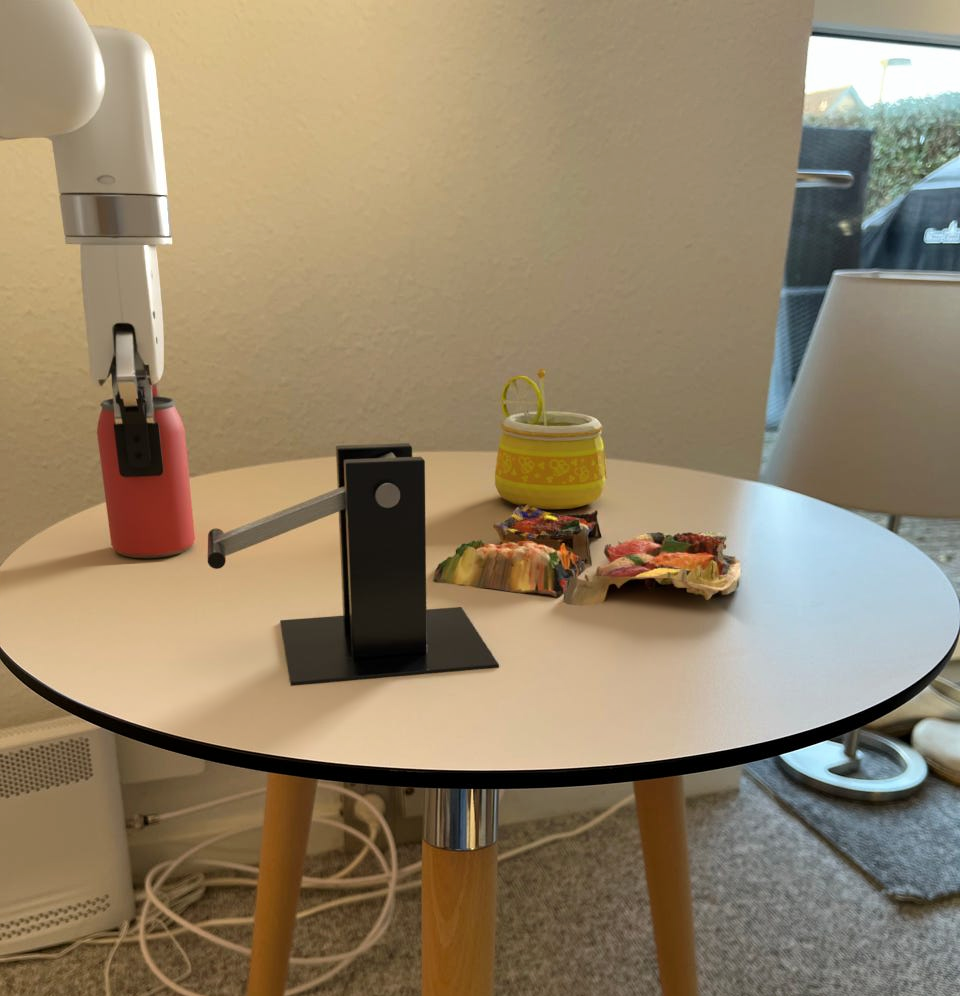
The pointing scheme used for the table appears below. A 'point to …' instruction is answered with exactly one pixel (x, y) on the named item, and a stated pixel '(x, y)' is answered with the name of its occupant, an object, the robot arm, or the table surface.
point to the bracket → (382, 584)
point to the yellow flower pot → (548, 454)
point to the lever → (274, 524)
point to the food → (587, 559)
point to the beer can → (148, 490)
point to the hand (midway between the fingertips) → (144, 463)
